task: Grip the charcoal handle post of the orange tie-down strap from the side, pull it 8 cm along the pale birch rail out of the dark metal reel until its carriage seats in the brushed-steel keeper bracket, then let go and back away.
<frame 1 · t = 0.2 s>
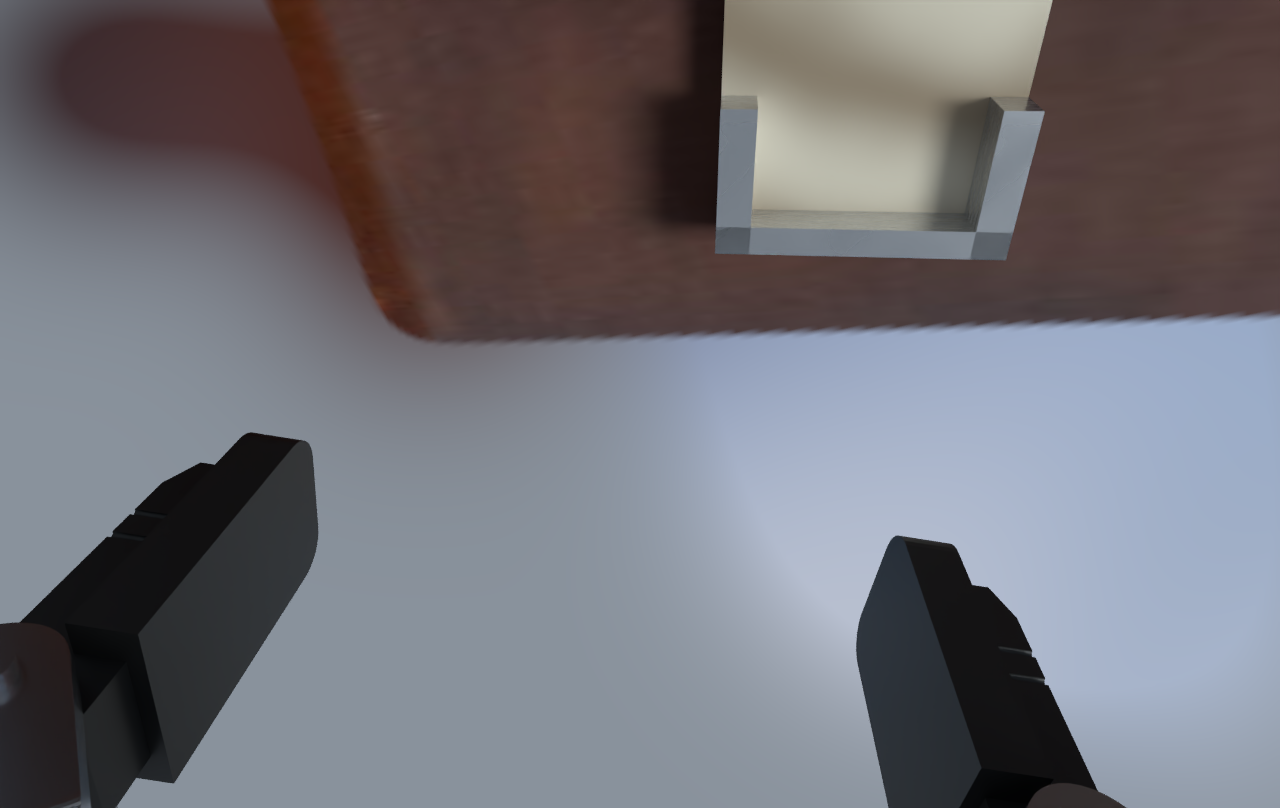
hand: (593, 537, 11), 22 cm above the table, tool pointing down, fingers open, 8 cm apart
keeper bracket: (864, 178, 27), on the rail board, point 2 cm above the table
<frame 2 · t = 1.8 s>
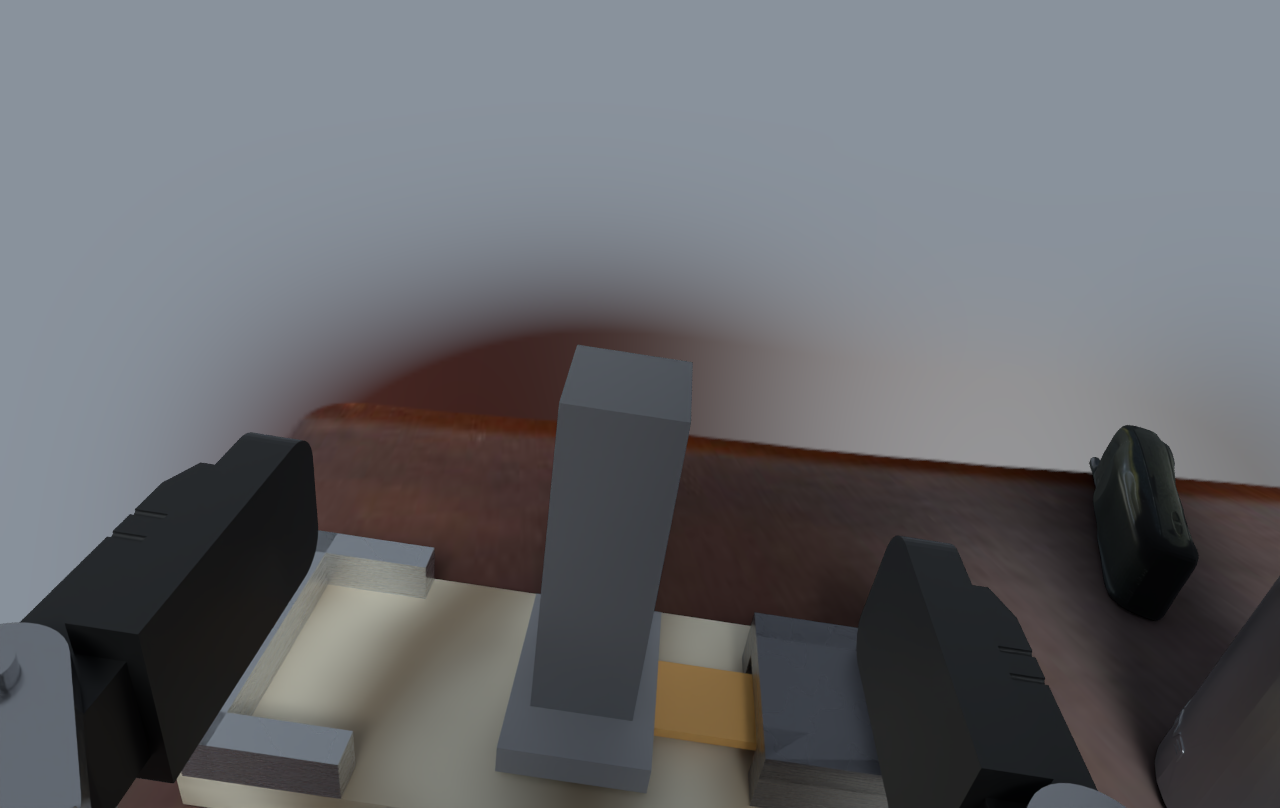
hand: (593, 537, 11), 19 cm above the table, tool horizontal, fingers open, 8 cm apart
rail board: (579, 727, 30), on the table
dark green rounded bar: (1114, 538, 46), on the table
keeper bracket: (325, 646, 29), on the rail board, point 2 cm above the table
strap handle: (787, 585, 26), point 8 cm above the table, slide at 0.0 cm
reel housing: (876, 684, 28), on the rail board, point 5 cm above the table
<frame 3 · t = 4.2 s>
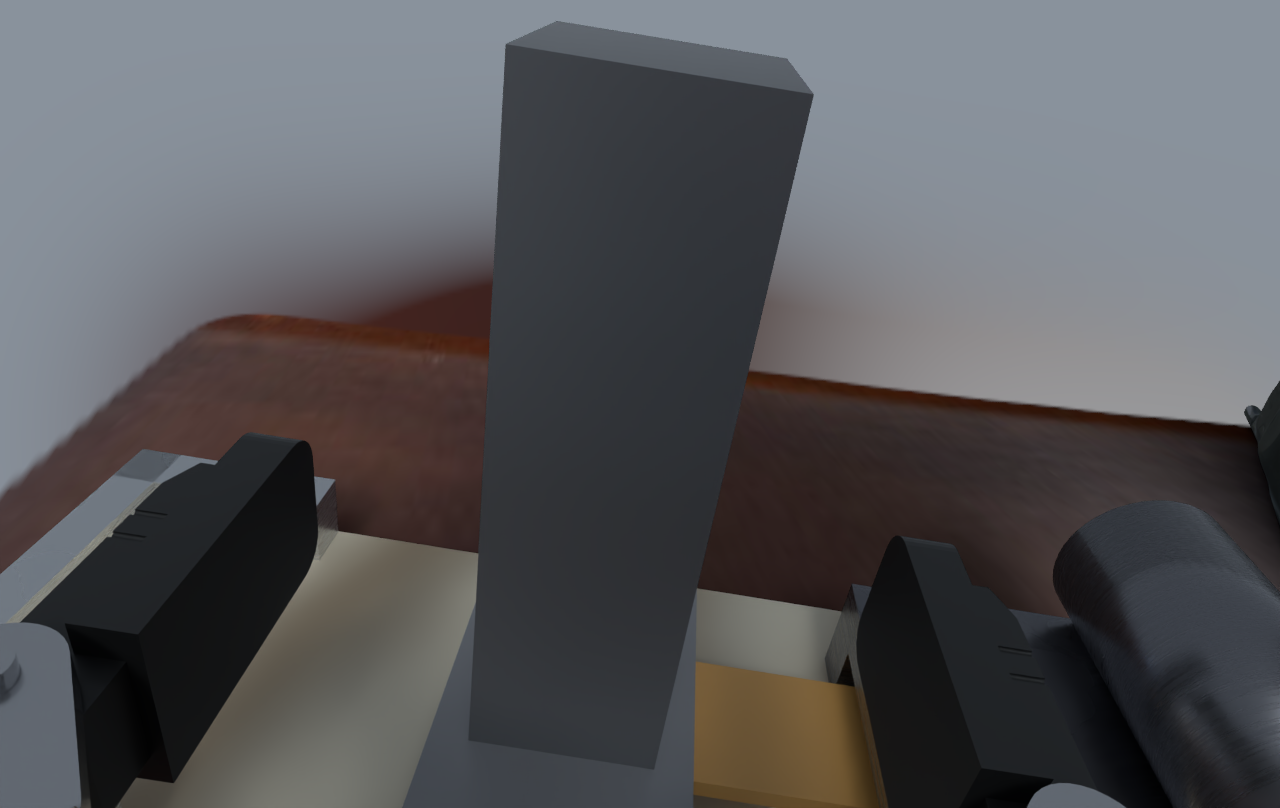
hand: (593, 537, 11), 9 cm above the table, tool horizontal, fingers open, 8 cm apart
rail board: (561, 772, 18), on the table
keeper bracket: (121, 630, 17), on the rail board, point 2 cm above the table
strap handle: (950, 520, 14), point 8 cm above the table, slide at 0.0 cm
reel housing: (1085, 706, 16), on the rail board, point 5 cm above the table
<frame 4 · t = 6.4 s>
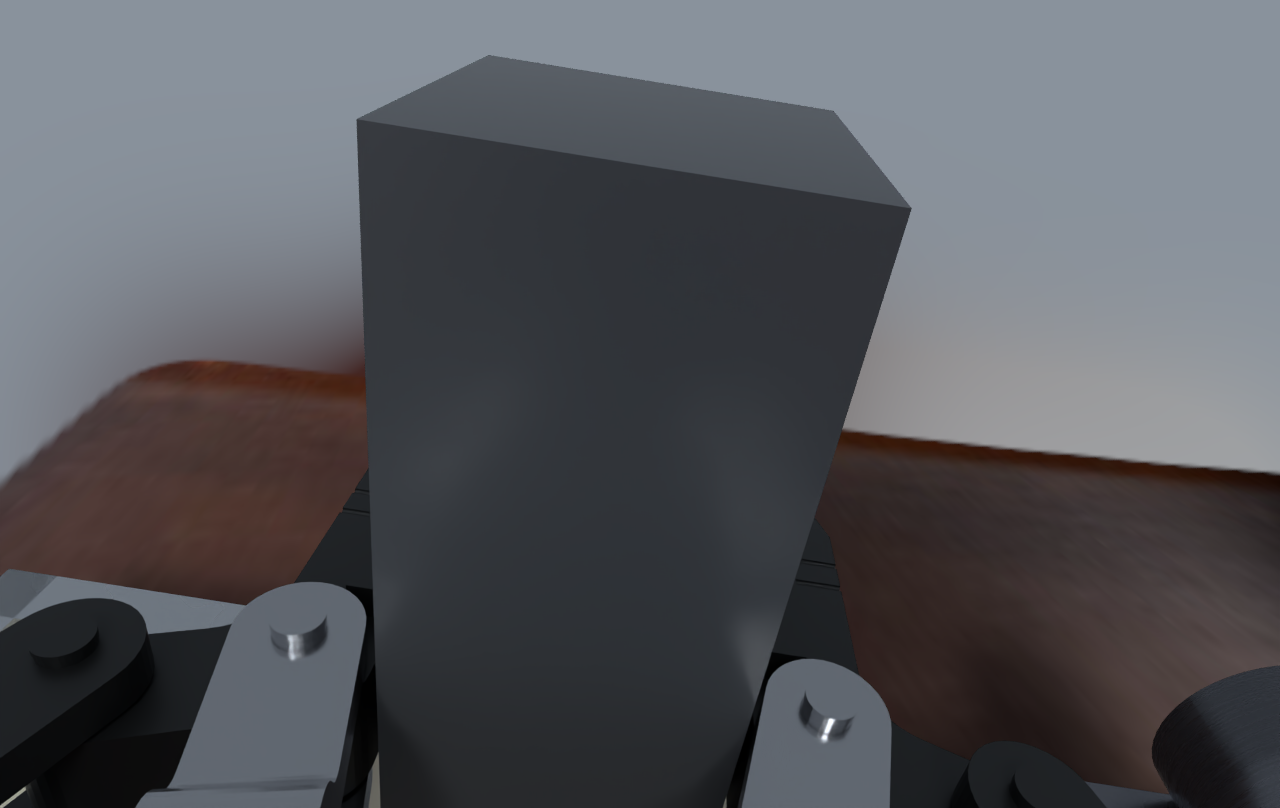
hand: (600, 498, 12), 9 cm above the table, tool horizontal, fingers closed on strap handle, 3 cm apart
strap handle: (1054, 748, 10), point 8 cm above the table, slide at 0.0 cm, touching gripper
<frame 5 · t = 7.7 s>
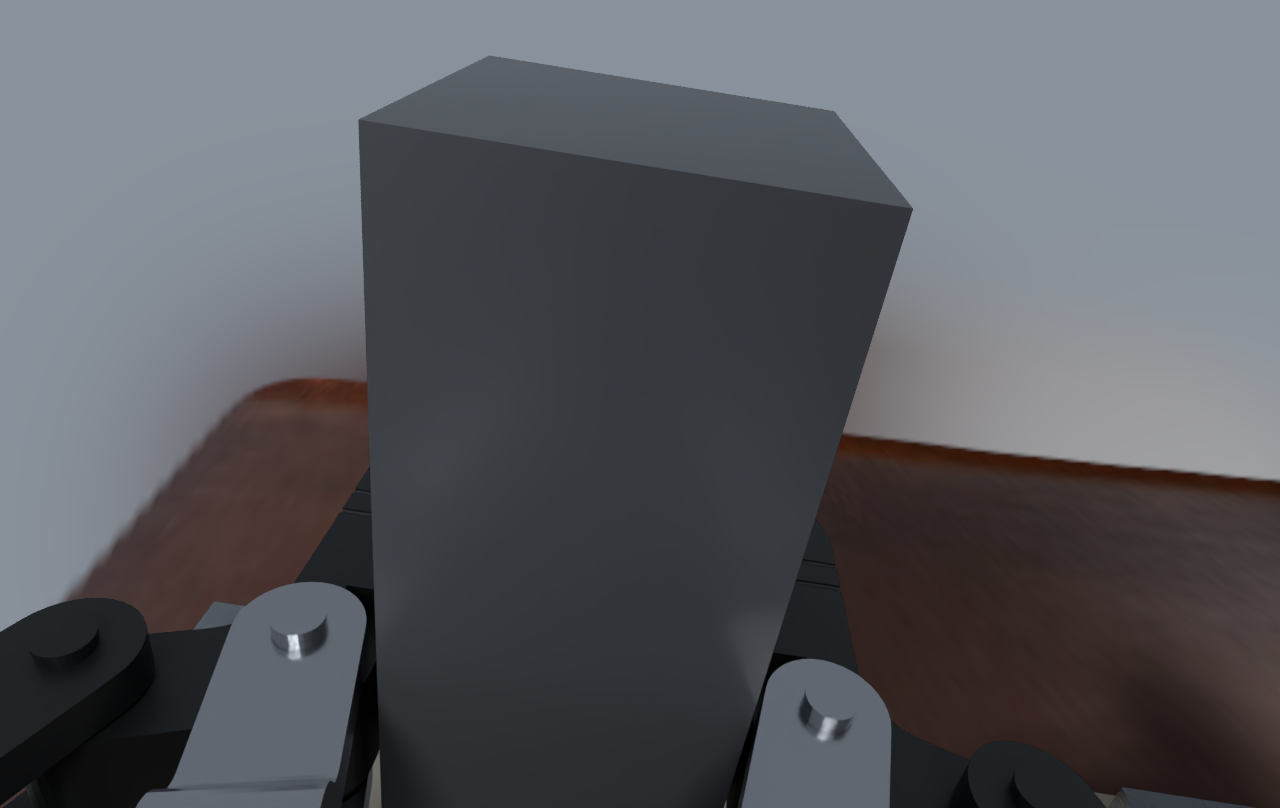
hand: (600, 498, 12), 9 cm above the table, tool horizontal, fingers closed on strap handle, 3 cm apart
strap handle: (1055, 748, 10), point 8 cm above the table, slide at 4.3 cm, touching gripper
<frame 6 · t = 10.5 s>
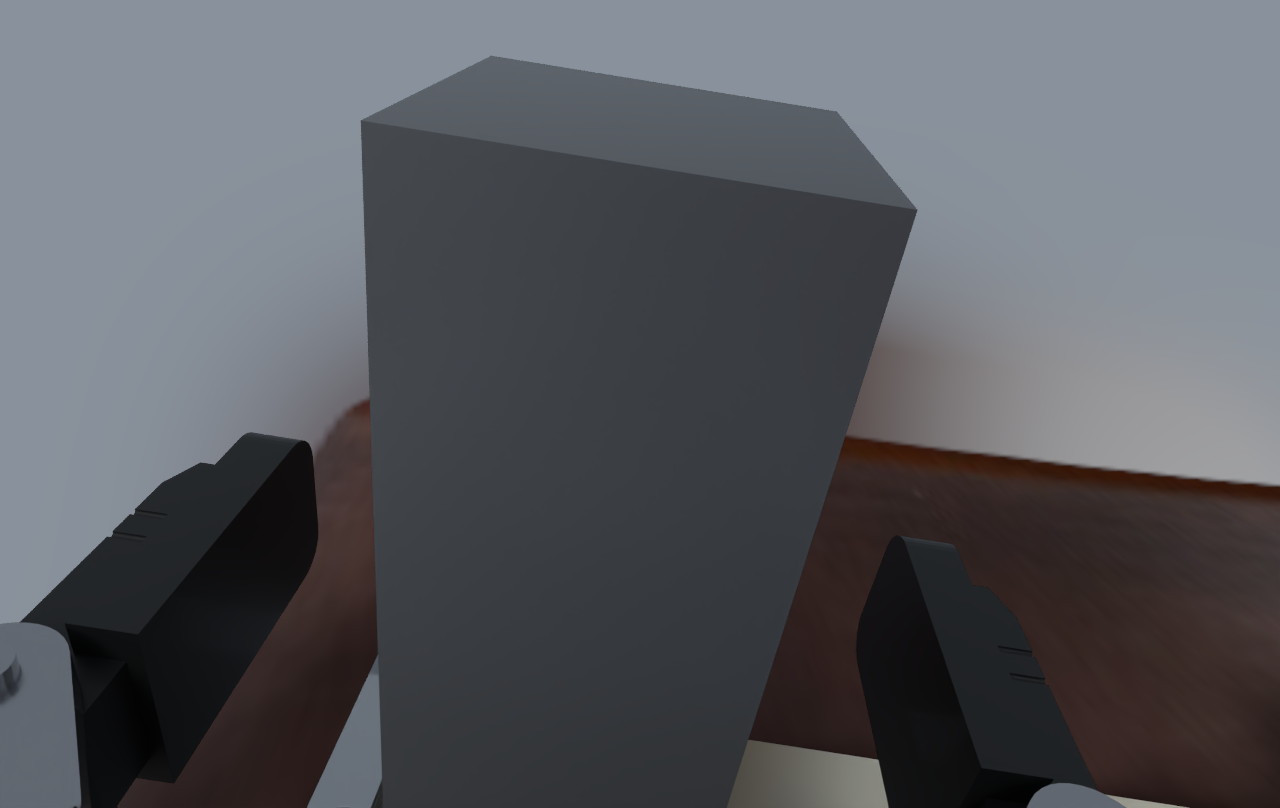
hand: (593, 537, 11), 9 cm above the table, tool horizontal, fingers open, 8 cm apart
strap handle: (1057, 750, 10), point 8 cm above the table, slide at 7.9 cm
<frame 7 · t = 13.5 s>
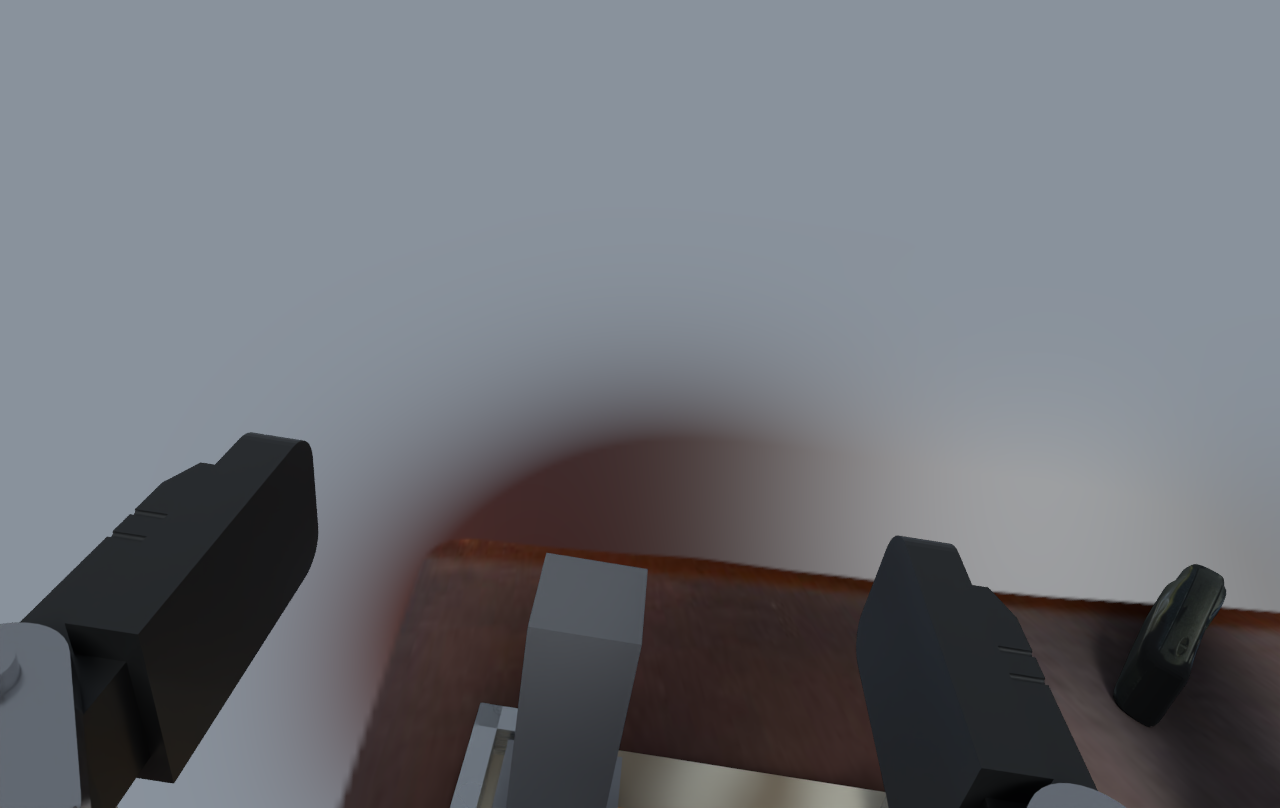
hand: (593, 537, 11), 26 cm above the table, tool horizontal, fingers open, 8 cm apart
dark green rounded bar: (1155, 660, 51), on the table
strap handle: (731, 758, 29), point 8 cm above the table, slide at 7.9 cm
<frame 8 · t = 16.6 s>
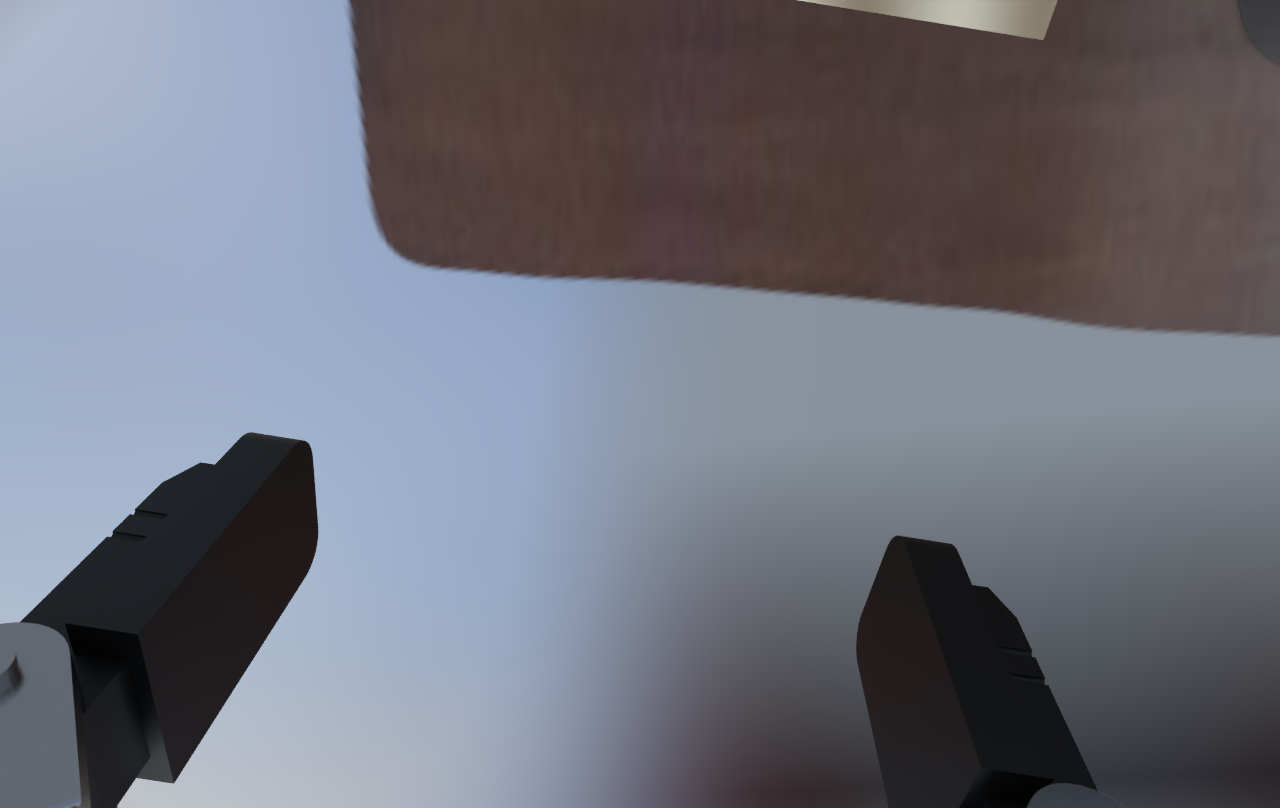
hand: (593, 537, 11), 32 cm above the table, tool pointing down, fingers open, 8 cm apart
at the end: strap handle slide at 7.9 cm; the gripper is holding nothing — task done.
